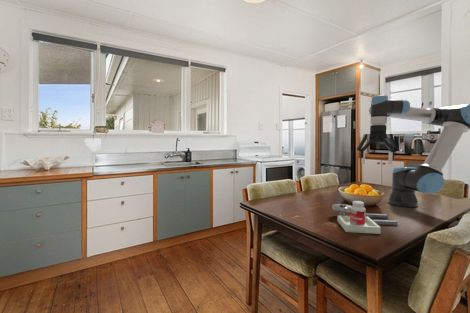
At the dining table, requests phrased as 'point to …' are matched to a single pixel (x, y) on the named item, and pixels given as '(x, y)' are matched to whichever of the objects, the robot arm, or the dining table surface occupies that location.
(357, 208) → the pill bottle
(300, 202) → the dining table surface
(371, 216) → the tensioner bracket
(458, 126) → the robot arm
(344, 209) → the pulley
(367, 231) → the tray
